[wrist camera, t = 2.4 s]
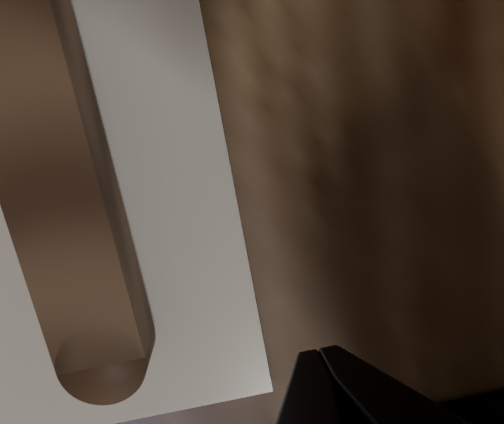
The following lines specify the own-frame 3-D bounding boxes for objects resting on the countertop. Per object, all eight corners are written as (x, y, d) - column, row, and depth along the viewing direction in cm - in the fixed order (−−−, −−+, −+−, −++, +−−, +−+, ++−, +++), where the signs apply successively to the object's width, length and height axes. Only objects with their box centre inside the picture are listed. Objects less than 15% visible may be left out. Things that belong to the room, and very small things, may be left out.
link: (-114, -188, 12) (-181, -249, 10) (41, -213, 12) (5, -277, 10) (69, 381, 16) (48, 417, 14) (181, 358, 16) (175, 391, 14)
